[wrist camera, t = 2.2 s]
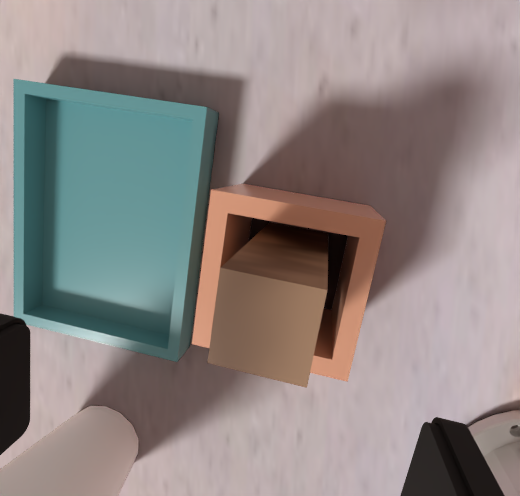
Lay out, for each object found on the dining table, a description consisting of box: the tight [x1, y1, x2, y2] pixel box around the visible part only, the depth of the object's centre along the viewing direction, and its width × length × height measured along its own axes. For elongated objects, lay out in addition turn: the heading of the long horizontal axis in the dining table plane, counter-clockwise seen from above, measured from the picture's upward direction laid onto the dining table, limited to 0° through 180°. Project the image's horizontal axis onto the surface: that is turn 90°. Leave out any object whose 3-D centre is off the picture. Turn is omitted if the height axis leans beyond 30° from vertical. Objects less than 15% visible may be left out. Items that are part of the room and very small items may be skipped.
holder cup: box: [192, 184, 386, 382], centre depth 22 cm, size 8×8×7 cm
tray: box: [14, 79, 219, 362], centre depth 26 cm, size 13×17×2 cm
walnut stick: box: [207, 222, 329, 387], centre depth 20 cm, size 4×4×12 cm
